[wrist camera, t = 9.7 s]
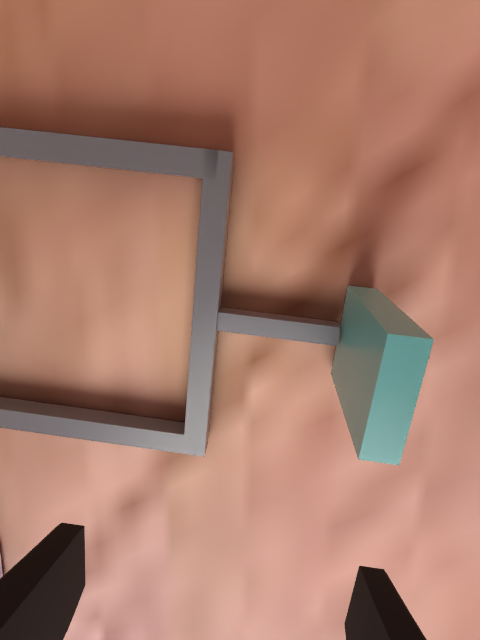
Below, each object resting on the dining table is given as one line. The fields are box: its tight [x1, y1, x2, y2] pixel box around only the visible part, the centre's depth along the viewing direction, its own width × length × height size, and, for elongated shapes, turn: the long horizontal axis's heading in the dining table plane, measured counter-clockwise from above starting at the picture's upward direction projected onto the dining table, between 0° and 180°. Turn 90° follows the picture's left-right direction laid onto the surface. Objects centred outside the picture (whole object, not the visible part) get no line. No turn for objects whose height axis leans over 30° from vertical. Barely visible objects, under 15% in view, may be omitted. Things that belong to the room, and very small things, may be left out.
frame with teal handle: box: [0, 127, 434, 465], centre depth 15 cm, size 13×25×6 cm, turn 84°
